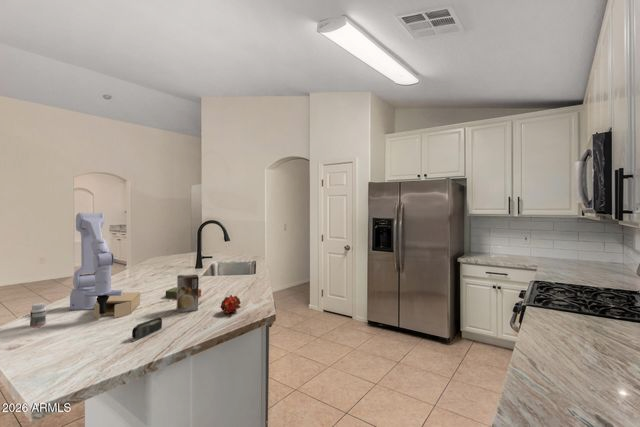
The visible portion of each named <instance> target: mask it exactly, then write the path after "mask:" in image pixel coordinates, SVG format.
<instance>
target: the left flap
mask: <svg viewBox="0 0 640 427" xmlns="http://www.w3.org/2000/svg"><path fill="white" fill-rule="evenodd" d="M93 309H94V310H93V313H94V314H93V315H94V316H95V317H96V318H98V319H99V320H100V319H101V315H100V314H99V304H97V303H95V304H94V308H93Z"/></svg>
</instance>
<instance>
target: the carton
mask: <svg viewBox="0 0 640 427" xmlns="http://www.w3.org/2000/svg"><path fill="white" fill-rule="evenodd" d="M201 296H202V289H201V288H198V298H200V297H201ZM165 298H167V299H176V300H177V286H176V287H172V288H170V289H168V290H165Z"/></svg>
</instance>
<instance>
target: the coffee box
mask: <svg viewBox="0 0 640 427" xmlns="http://www.w3.org/2000/svg"><path fill="white" fill-rule="evenodd" d="M199 279H200V278H199V275H198V274H196V273H195V274H180V275H177V286H176V287H177V299H176V311H177V313H181V312H192V311H193V312H194V311H199V297H198V289H199V281H200V280H199Z"/></svg>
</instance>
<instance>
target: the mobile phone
mask: <svg viewBox="0 0 640 427" xmlns="http://www.w3.org/2000/svg"><path fill="white" fill-rule="evenodd" d="M162 327H163V318H162V317H155V318H153V319H150V320H147V321H144V322H141V323H139V324H137V325H136V326H134V327H133V328H132V330H131V337H132V339H131V343H134V342H136V341H137V340H140V339H142V338H145V337H147V336H150V335H151V334H154V333H156V332H158V331H160V330H162Z"/></svg>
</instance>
